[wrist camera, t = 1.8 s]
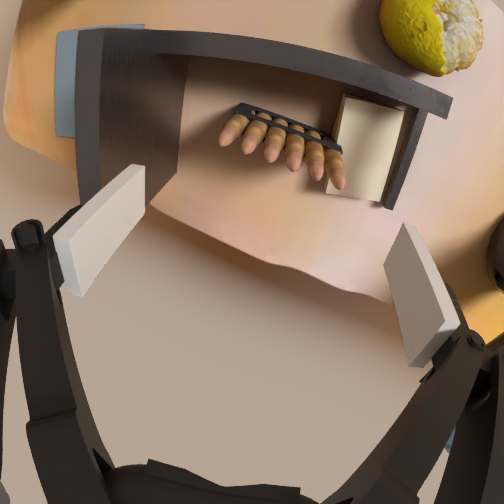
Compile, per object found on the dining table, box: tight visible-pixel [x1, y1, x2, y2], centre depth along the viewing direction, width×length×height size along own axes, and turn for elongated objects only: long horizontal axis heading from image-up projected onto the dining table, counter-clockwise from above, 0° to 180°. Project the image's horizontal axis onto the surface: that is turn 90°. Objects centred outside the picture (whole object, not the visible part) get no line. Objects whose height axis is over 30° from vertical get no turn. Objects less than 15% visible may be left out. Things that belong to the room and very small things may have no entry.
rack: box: [74, 28, 453, 210], centre depth 24 cm, size 26×16×16 cm, turn 80°
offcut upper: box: [324, 95, 404, 202], centre depth 29 cm, size 6×10×1 cm, turn 174°
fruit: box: [378, 0, 484, 77], centre depth 19 cm, size 11×10×8 cm
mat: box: [55, 24, 145, 137], centre depth 29 cm, size 12×14×1 cm
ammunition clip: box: [218, 103, 345, 190], centre depth 26 cm, size 11×2×12 cm, turn 72°
